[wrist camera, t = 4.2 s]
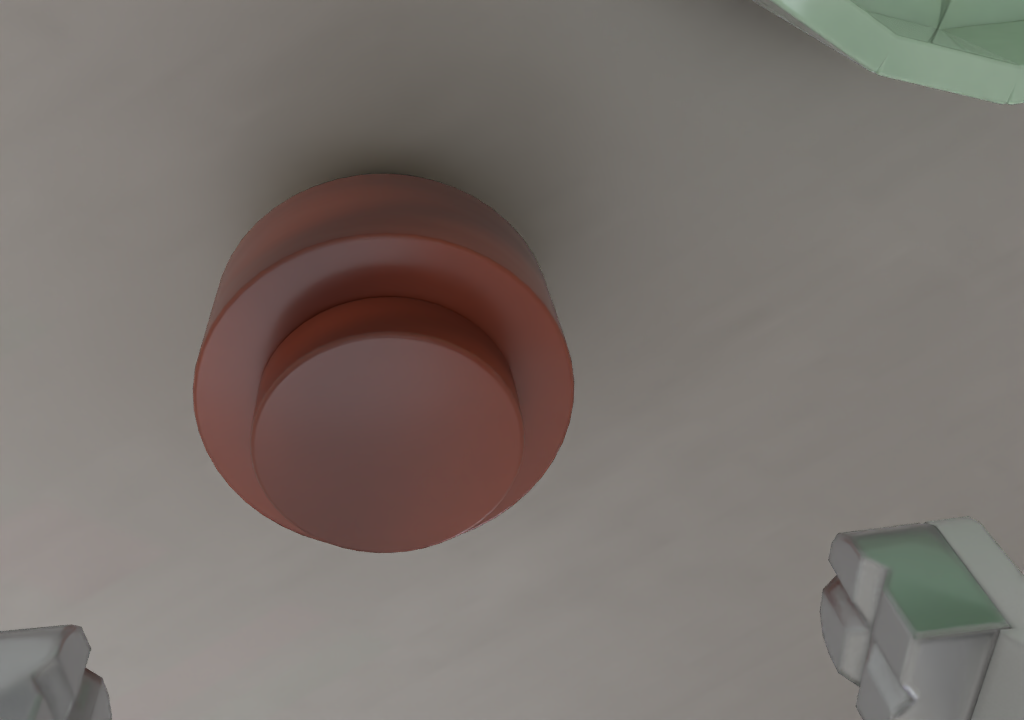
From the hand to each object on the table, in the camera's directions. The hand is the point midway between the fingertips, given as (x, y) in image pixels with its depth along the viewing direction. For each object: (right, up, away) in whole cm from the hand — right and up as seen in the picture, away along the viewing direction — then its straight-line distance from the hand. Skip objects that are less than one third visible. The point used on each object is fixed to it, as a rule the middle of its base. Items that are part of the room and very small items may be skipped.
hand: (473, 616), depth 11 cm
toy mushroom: (-2, +5, +10) cm, 11 cm away
